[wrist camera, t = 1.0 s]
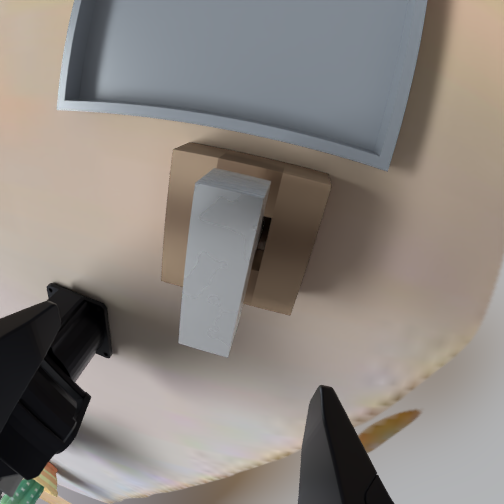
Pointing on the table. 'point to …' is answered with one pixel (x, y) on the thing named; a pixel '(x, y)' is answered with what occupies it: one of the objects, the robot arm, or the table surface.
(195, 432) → the table surface
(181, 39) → the tray
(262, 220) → the gray rectangular block
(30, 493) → the potted cactus
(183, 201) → the socket block
